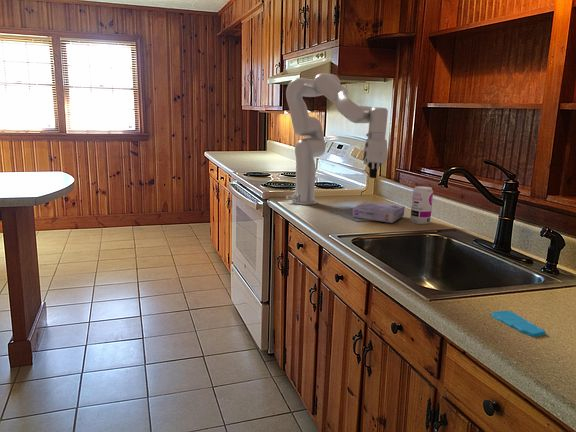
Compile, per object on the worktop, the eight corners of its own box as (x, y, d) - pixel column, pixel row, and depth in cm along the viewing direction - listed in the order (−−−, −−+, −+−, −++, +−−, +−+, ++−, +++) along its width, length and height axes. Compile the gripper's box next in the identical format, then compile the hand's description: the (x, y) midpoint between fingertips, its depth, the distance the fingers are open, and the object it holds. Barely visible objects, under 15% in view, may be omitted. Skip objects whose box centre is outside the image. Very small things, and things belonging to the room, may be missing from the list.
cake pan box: (363, 211, 224) (349, 217, 209) (363, 200, 223) (350, 205, 208) (404, 217, 216) (393, 223, 200) (405, 205, 215) (394, 211, 199)
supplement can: (431, 221, 208) (434, 187, 205) (428, 225, 201) (431, 189, 198) (412, 219, 212) (415, 185, 208) (408, 223, 204) (411, 188, 201)
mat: (357, 222, 203) (357, 220, 203) (330, 211, 222) (330, 210, 222) (392, 218, 211) (392, 217, 211) (363, 208, 230) (364, 207, 230)
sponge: (524, 335, 102) (548, 330, 104) (488, 312, 114) (510, 307, 115) (524, 341, 103) (547, 336, 104) (488, 318, 114) (509, 313, 115)
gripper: (367, 136, 205) (363, 179, 209) (395, 137, 211) (391, 178, 216) (357, 135, 211) (353, 176, 216) (385, 135, 218) (381, 175, 222)
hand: (372, 177), depth 216 cm, fingers closed
